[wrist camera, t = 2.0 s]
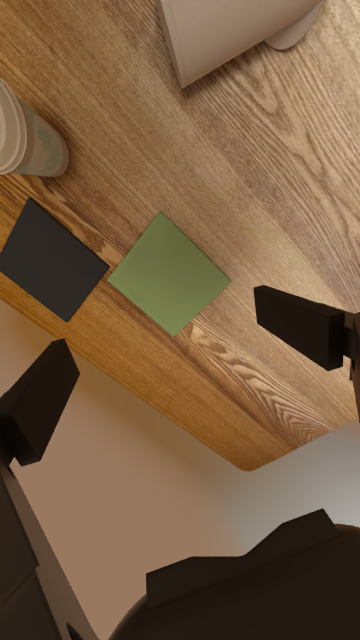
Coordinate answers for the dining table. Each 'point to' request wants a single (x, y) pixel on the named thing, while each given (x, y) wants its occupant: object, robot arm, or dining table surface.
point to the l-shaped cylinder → (228, 30)
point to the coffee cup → (28, 140)
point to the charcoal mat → (50, 262)
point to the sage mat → (168, 276)
